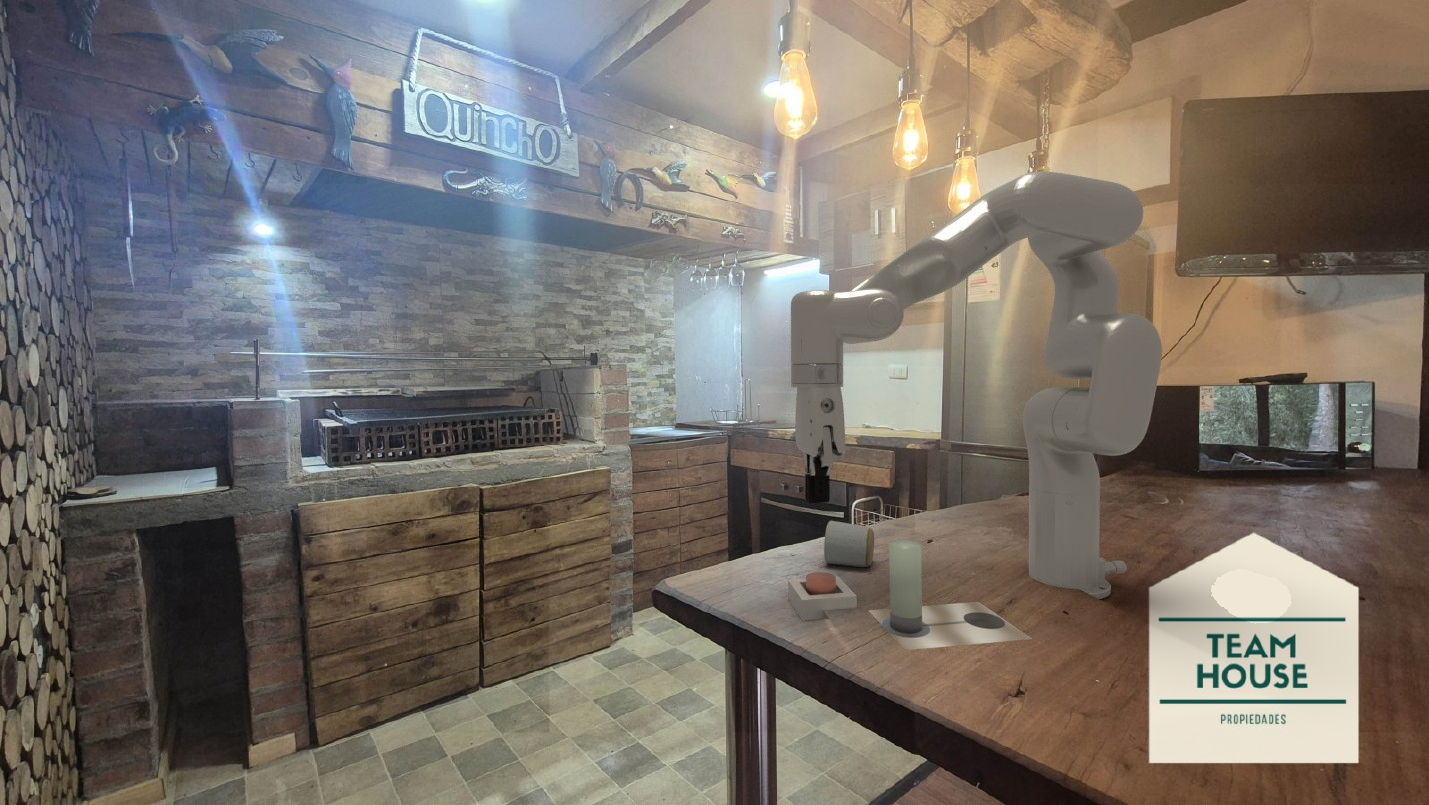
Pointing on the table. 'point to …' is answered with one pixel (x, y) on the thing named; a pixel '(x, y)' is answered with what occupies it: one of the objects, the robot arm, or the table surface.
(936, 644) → the board
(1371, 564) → the table surface
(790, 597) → the button housing
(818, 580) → the button
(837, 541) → the ceramic mug
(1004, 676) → the table surface
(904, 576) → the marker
